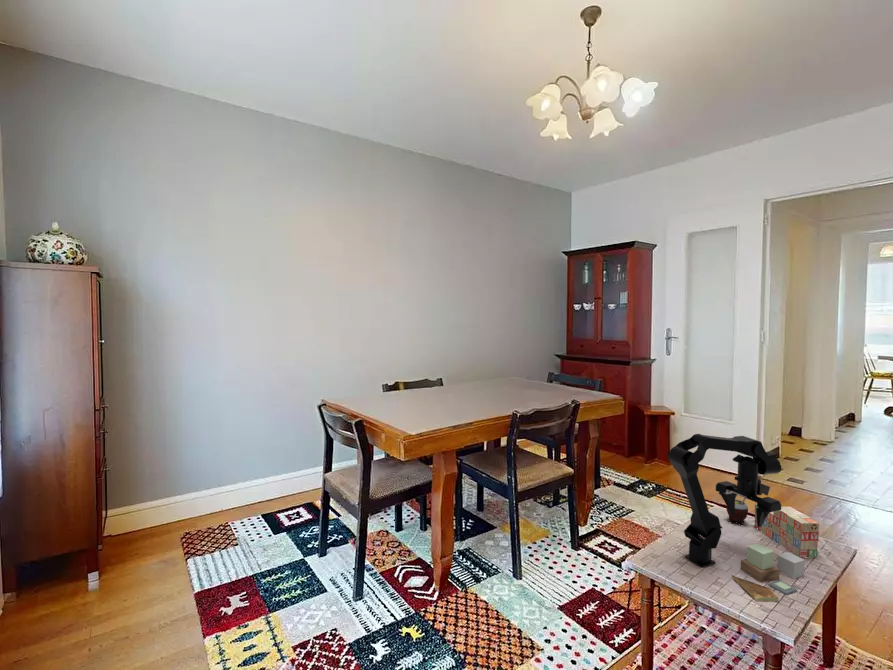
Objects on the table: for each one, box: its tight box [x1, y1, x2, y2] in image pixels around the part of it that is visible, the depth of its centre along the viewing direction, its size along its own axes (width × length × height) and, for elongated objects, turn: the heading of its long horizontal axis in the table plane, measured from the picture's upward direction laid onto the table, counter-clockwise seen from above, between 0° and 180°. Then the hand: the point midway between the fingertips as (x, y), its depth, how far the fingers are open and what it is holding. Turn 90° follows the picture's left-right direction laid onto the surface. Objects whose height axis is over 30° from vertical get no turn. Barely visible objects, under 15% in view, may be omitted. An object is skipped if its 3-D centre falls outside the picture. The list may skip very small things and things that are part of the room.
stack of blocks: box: [754, 503, 820, 559], centre depth 159 cm, size 21×6×12 cm, turn 2°
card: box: [768, 579, 798, 596], centre depth 132 cm, size 5×5×1 cm
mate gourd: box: [726, 497, 749, 526], centre depth 173 cm, size 8×8×15 cm
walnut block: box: [740, 558, 780, 583], centre depth 139 cm, size 7×7×4 cm
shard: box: [731, 574, 779, 602], centre depth 131 cm, size 11×8×2 cm
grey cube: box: [776, 551, 806, 579], centre depth 140 cm, size 5×5×5 cm
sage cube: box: [746, 542, 775, 570], centre depth 139 cm, size 5×5×5 cm
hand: (745, 520), depth 149 cm, fingers open, 9 cm apart
